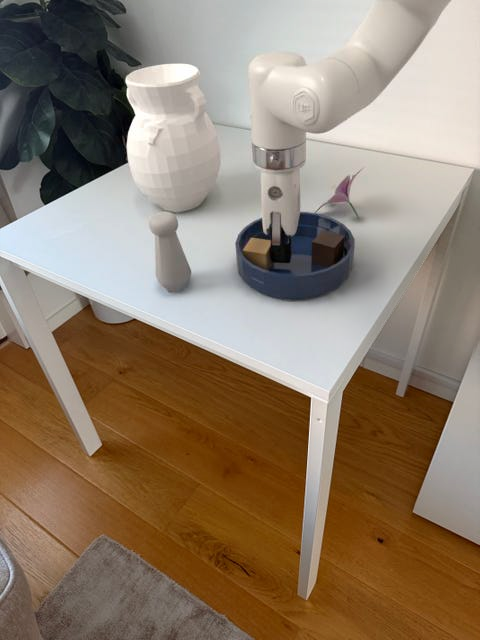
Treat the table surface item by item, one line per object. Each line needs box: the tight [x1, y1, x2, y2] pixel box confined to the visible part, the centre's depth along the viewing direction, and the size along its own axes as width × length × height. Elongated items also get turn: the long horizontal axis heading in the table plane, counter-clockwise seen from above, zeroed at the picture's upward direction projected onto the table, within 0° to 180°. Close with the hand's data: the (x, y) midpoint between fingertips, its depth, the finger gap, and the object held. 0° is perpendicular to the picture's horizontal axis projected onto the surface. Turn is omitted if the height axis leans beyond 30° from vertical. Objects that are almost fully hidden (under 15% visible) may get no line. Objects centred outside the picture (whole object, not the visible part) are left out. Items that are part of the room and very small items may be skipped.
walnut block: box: [311, 230, 345, 267], centre depth 80 cm, size 4×4×4 cm
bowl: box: [235, 211, 356, 301], centre depth 80 cm, size 19×19×5 cm
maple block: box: [243, 238, 273, 271], centre depth 80 cm, size 4×4×4 cm
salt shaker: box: [148, 210, 192, 293], centre depth 76 cm, size 6×6×13 cm
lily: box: [314, 166, 365, 220], centre depth 91 cm, size 12×12×10 cm
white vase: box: [125, 63, 221, 213], centre depth 94 cm, size 19×18×25 cm
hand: (281, 259), depth 80 cm, fingers closed
